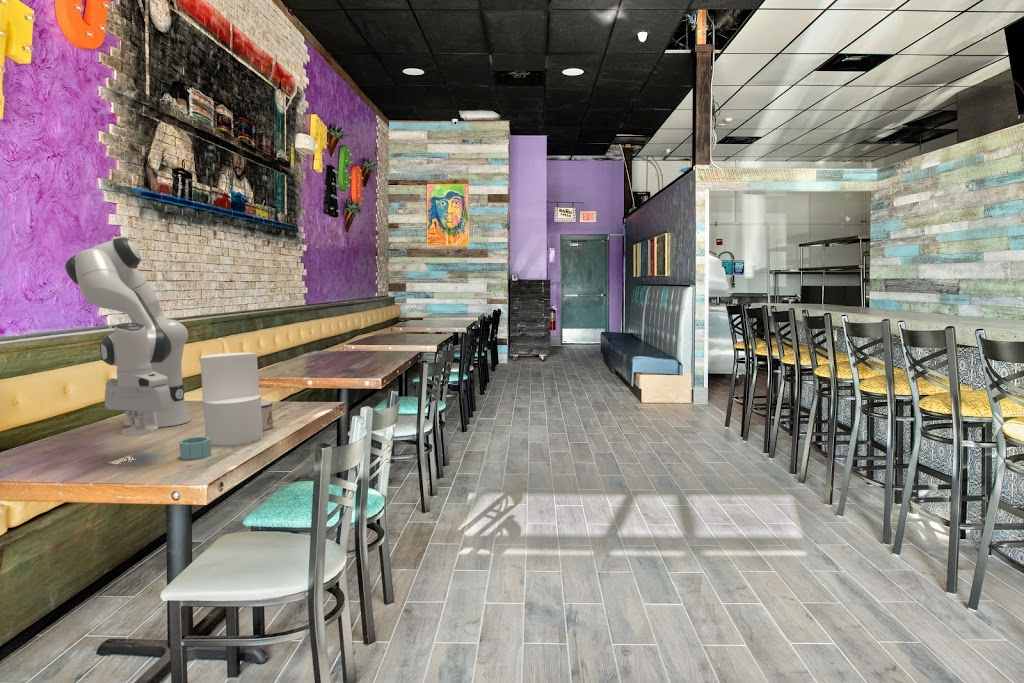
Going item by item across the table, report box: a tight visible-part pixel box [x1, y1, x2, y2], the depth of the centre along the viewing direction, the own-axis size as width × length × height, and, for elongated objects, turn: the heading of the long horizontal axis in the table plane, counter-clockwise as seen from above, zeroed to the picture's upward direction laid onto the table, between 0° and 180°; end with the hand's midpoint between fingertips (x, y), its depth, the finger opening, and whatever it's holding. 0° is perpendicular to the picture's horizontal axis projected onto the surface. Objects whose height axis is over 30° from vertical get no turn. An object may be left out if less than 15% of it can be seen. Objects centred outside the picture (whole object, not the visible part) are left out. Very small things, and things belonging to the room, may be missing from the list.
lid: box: [121, 417, 159, 437], centre depth 181 cm, size 9×9×4 cm
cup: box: [179, 436, 212, 461], centre depth 183 cm, size 8×8×5 cm
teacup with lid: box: [261, 398, 274, 431], centre depth 219 cm, size 12×9×12 cm
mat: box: [118, 451, 171, 467], centre depth 181 cm, size 12×12×1 cm
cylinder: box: [199, 352, 264, 447], centre depth 202 cm, size 17×17×28 cm
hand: (139, 424), depth 181 cm, fingers closed on lid, 3 cm apart
